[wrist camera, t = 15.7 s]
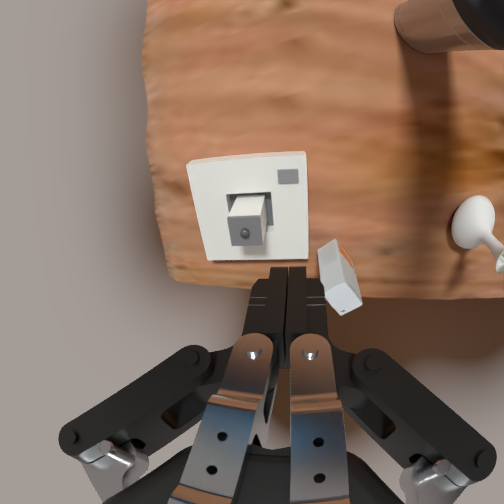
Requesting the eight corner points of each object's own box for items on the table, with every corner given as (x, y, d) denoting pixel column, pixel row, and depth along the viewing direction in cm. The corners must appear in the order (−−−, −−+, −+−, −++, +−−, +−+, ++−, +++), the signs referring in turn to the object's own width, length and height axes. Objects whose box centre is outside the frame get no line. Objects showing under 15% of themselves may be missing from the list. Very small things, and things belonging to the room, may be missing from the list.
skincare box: (352, 259, 48) (363, 305, 38) (333, 270, 50) (340, 317, 40) (335, 236, 46) (345, 281, 36) (316, 248, 48) (320, 295, 38)
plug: (265, 194, 43) (259, 219, 36) (267, 219, 45) (262, 247, 38) (237, 195, 43) (225, 220, 36) (240, 220, 46) (230, 248, 39)
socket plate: (305, 151, 38) (306, 155, 36) (307, 250, 48) (308, 260, 46) (191, 160, 41) (185, 165, 39) (211, 252, 51) (207, 261, 49)
